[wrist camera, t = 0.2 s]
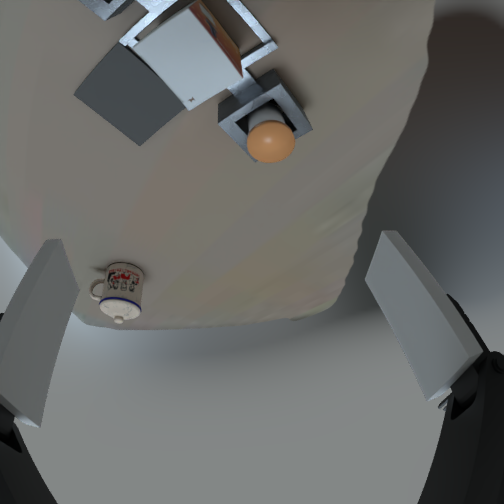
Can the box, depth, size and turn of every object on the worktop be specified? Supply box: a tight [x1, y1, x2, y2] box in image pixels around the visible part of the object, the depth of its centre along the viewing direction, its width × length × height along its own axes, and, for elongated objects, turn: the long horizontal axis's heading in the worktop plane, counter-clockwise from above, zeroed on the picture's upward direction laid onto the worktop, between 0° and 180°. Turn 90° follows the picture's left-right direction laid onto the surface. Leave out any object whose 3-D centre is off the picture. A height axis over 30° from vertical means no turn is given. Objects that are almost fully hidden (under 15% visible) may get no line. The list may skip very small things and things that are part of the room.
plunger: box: [247, 102, 295, 163], centre depth 30 cm, size 5×5×6 cm
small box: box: [132, 0, 243, 111], centre depth 22 cm, size 8×6×10 cm
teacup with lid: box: [89, 263, 144, 323], centre depth 57 cm, size 12×9×12 cm
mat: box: [74, 42, 186, 146], centre depth 29 cm, size 9×12×1 cm
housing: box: [79, 0, 313, 162], centre depth 23 cm, size 12×31×5 cm, turn 35°
